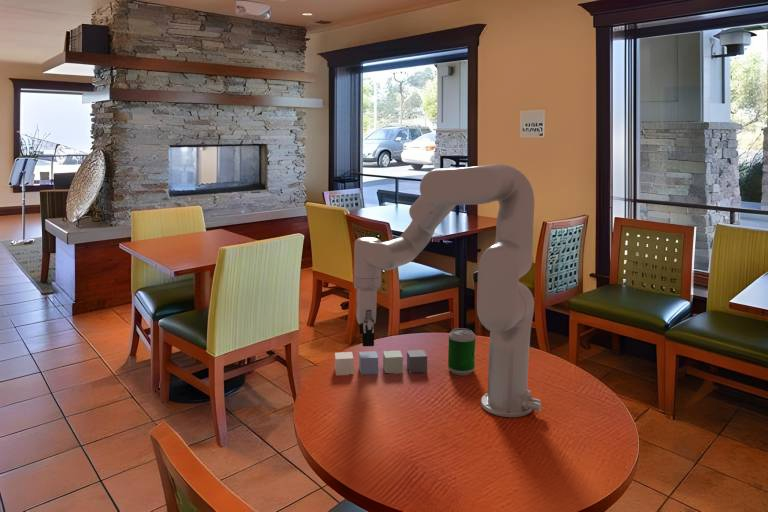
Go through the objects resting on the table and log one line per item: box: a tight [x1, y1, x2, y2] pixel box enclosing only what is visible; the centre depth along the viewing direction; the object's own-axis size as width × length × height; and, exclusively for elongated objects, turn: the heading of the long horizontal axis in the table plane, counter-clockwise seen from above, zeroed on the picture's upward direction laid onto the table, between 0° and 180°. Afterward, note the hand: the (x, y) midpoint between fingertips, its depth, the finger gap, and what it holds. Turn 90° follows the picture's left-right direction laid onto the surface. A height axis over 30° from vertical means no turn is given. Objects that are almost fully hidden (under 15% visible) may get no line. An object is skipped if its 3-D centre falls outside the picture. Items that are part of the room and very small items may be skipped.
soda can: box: [447, 327, 477, 376], centre depth 161 cm, size 8×8×12 cm
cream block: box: [334, 351, 354, 376], centre depth 162 cm, size 5×5×5 cm
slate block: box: [358, 350, 379, 375], centre depth 163 cm, size 5×5×5 cm
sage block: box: [382, 350, 404, 374], centre depth 163 cm, size 5×5×5 cm
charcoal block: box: [406, 349, 428, 373], centre depth 164 cm, size 5×5×5 cm
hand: (366, 339), depth 161 cm, fingers open, 9 cm apart
